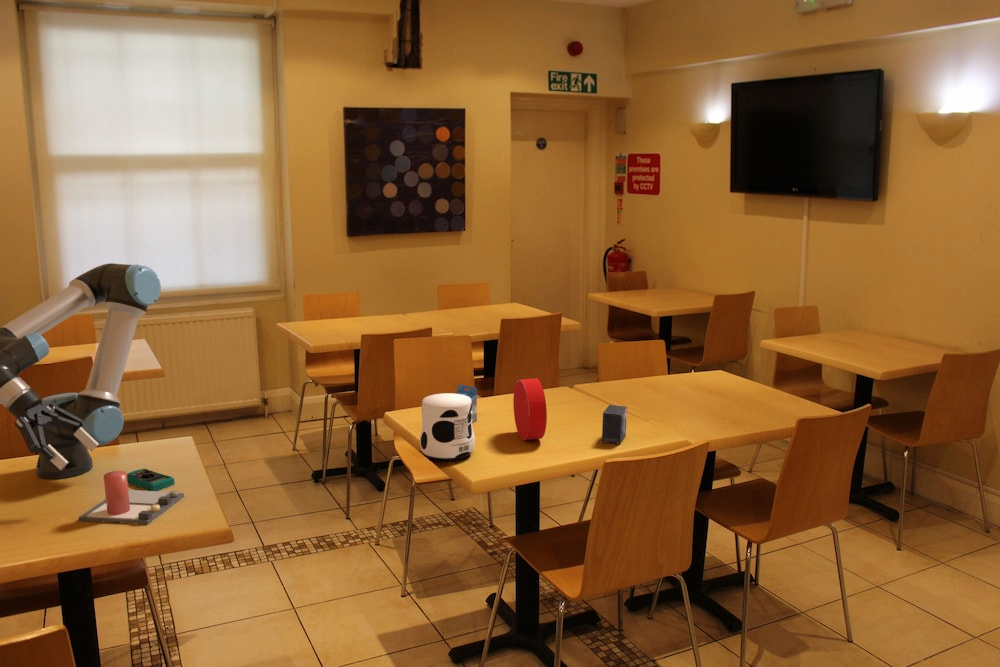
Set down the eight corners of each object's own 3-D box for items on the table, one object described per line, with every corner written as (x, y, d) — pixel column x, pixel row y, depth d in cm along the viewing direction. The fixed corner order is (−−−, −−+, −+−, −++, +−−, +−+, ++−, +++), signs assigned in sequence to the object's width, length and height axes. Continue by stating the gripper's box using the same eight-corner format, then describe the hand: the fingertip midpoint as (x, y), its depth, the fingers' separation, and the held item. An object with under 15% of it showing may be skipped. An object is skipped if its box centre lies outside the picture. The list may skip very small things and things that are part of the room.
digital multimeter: (144, 476, 258) (143, 466, 257) (176, 486, 250) (175, 476, 249) (122, 483, 252) (121, 473, 251) (153, 494, 244) (152, 484, 243)
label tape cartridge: (451, 419, 311) (450, 386, 308) (457, 417, 314) (457, 383, 312) (471, 423, 306) (470, 389, 303) (477, 421, 309) (477, 387, 307)
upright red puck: (546, 446, 281) (547, 386, 277) (529, 448, 280) (529, 388, 276) (529, 428, 300) (530, 372, 296) (513, 429, 299) (513, 373, 295)
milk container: (428, 444, 284) (427, 391, 280) (480, 447, 281) (480, 393, 277) (413, 462, 267) (411, 405, 264) (467, 466, 264) (467, 408, 260)
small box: (620, 445, 282) (621, 414, 280) (601, 443, 285) (601, 412, 282) (627, 435, 292) (627, 405, 290) (607, 434, 294) (608, 404, 292)
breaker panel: (119, 493, 243) (119, 484, 243) (184, 496, 241) (183, 487, 240) (78, 520, 225) (77, 511, 224) (148, 524, 222) (147, 515, 222)
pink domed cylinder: (114, 505, 231) (111, 470, 229) (134, 506, 230) (130, 471, 228) (102, 514, 225) (99, 477, 223) (122, 515, 225) (119, 478, 223)
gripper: (41, 395, 237) (98, 449, 239) (-23, 423, 213) (41, 484, 215) (57, 376, 236) (115, 431, 237) (-6, 403, 211) (59, 464, 213)
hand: (80, 456), depth 226 cm, fingers open, 13 cm apart
